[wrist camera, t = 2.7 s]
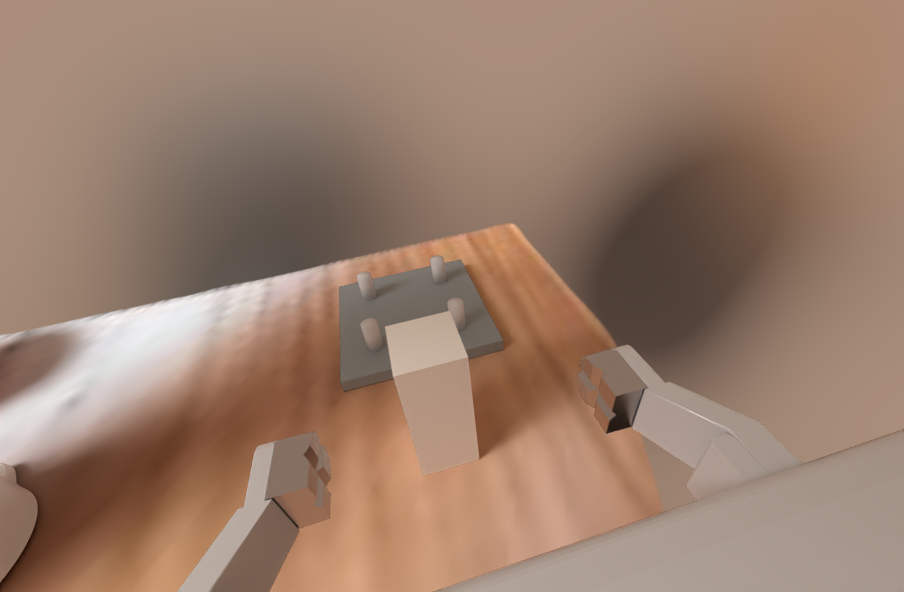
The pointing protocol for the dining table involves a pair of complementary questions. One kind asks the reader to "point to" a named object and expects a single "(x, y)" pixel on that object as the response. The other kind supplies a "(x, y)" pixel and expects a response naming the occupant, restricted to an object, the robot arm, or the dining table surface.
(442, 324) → the cream post
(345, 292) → the peg cradle
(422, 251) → the dining table surface
